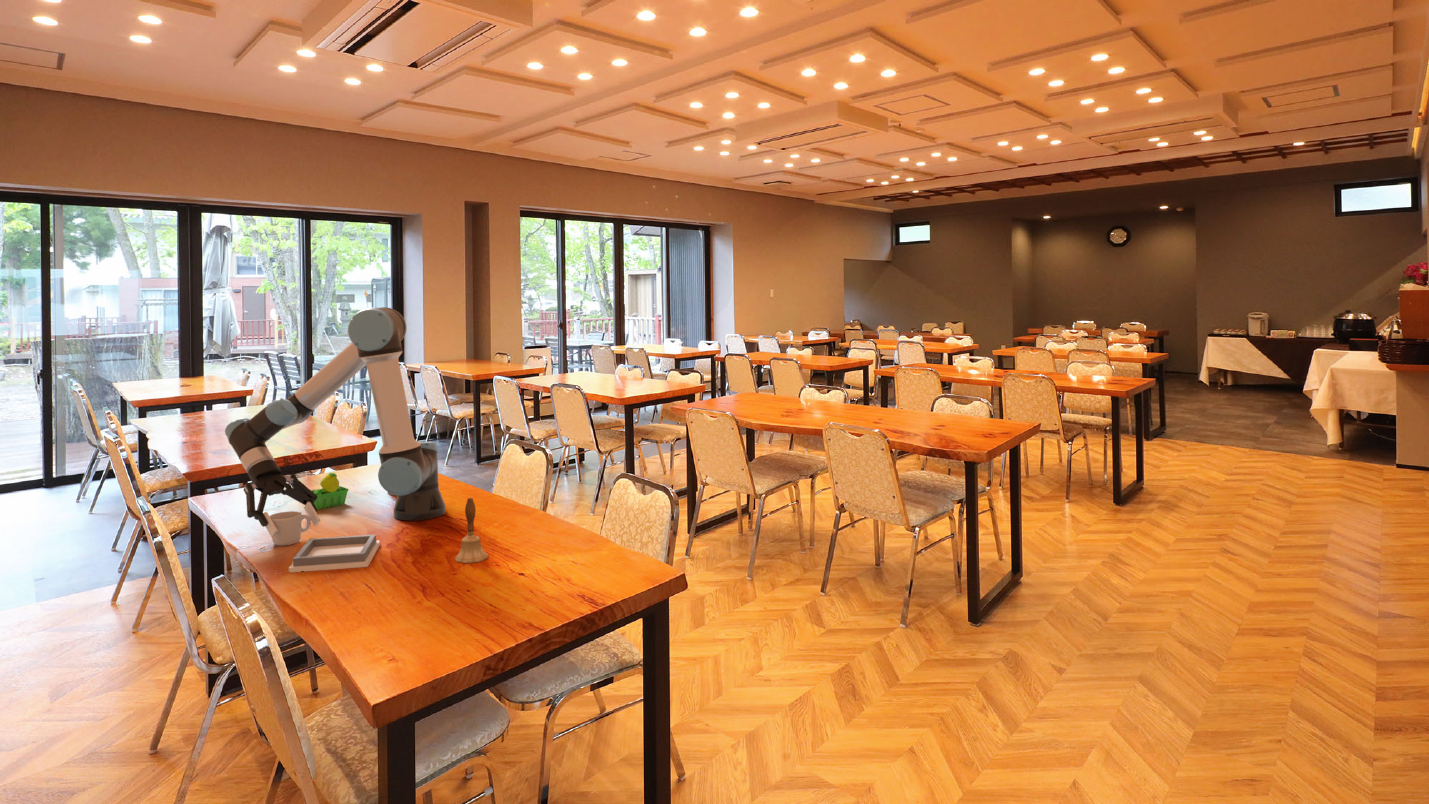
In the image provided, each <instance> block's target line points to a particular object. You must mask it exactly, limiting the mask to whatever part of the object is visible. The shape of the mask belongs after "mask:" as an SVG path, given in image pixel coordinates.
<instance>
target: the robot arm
mask: <svg viewBox="0 0 1429 804" xmlns="http://www.w3.org/2000/svg"><path fill="white" fill-rule="evenodd" d="M347 327H348V328H347V332H348V333H347V334H348V337H349V340H350V341H351V343H349V344H348V345H347V346H346V347H344V349H343V350H341V351H340V352H339V353H338V354H337V355H335V356H334V357H333V358H332V359H331V360H330V361H328V362H327V363H326V364H325V365H324V366H323V367H322V368H321V369H320V370H319V371H317V372H316V373H315V374H314V375H313V376H312V377H310V379H308V380H307V381H305V383H304V384H302V385H301V386H299V388H298V389H297V390H296V391H295V392H294V393H292V394H291V395H290V396H289V397H287V399H285V398H283V397H277V398H276V399H275V400H274V399H273V401H271V402H269V403H268V404H266V406H265V407H264V408H262V409H261V410H260V411H259V412H257V413H256V414H255V415H254V416H253V417H252V418H247V417H241V418H237V419H236V420H234V421H231V422H229V423H228V424H227V425H226V427H225V429H224V433H225V436H226V437H227V441H228V444H229V445H230V446H231V447H232V450H233V451H234V452H235V454H236V455H237V457H238V459H239V462H240V463H241V465H242V466H243V469H244V470H245V471H246V473H247V476H248V477H249V480H250V481H251V483H250V482H247V483H246V484H245V486H244V487H243V492H244V493H245V496H246V500H245V501H246V514H247V515H246V516H247V518H249V519H251V518H253V519H254V520H255V521H257V520H258V522H259V524H260V525H261V527H263V528H264V527H265V528H266V530H267V532H268V534H269V535H270V537H271V538H272V537H274V536H275V535H276V533H277V531H278V530H277V529H276V527H275V525H274V523H273V522H272V520H271V518H270V515H269V513H268V511H264V509H265V506H266V502H267V499H268V496H269V497H271V496H273V495H280V494H281V495H283V496H288V497H289V498H290V499H293V500H294V501H296V502H298V503H300V504H302V505H304V507H303V509H304V511H305V512H306V515H307V516H309V517H310V519H311V524H313V526H314V527H316V526H318V525H319V523H320V522H321V518H320V516H319V515H318V513H317V512H318V509H317V508H316V506H315V505H314V502H315V501H316V499H317V497H318V496H317V495H316V494H315V493H313V492H312V490H311V489H310V488H309V487H308V486H307V485H305V484H304V483H303V482H301V480H299V479H298V477H297V475H296V474H294V473H292V474H291V475H290V476H284V475H283V474H282V471H281V469H280V466H279V465H278V464H277V462H276V461H275V457H273V455H272V453H271V451H270V450H269V448H268V446H267V444H266V443H267V441H269V440H271V438H273V437H275V435H276V434H278V433H280V432H281V431H282V430H285V429H287V428H290V427H292V426H295V425H297V424H301V423H304V422H305V421H307V420H308V419H309V418H310V417H311V415H312V413H313V412H314V411H315V410H316V409H317V408H319V406H321V405H322V404H323V403H324V402H325V401H326V400H328V399H329V398H330V397H331V396H332V395H333V394H335V393H336V392H337V391H338V390H339V389H340V388H341V387H342V386H343V385H345V384H346V383H347V382H348V381H349V380H351V379H352V378H353V377H355V375H356V374H358V373H359V372H360V371H361V370H362V369H363V368H364V367H366V368H367V369H366V370H367V373H368V378H369V379H368V380H369V385H370V389H371V394H372V397H373V402H374V403H373V405H374V407H375V408H374V409H375V414H376V416H377V417H376V418H377V422H378V427H379V433H380V437H381V442H382V446H381V447H380V448H379V450H378V455H379V461H380V467H379V469H378V472H377V477H378V482H379V484H380V486H381V488H382V489H383V490H385V491H386V492H387V493H388V492H389V493H391V494H394V495H393V496H397V497H396V501H395V504H394V507H393V517H394V519H396V520H400V521H401V520H402V521H424V520H431V519H435V518H438V517H441V516H443V515H444V514H445V513H446V512H447V511H446V504H445V501H444V499H443V496H442V493H441V491H440V487H439V461H438V447H437V443H436V442H434V441H420V440H419V441H418V440H416V439H415V437H414V432H413V431H414V430H413V427H412V426H413V425H412V422H411V417H410V412H409V411H410V410H409V407H408V400H407V396H406V391H405V387H404V386H405V385H404V382H403V377H402V375H403V374H402V371H401V367H400V361H399V358H400V356H401V355H402V354H403V347H402V340H403V339H404V338H405V336H406V334H407V333H406V332H407V323H406V320H405V318H404V316H403V315H402V314H401V313H400V312H399V311H397V310H395V309H393V308H391V307H384V306H383V307H368V308H364V309H362V310H360V311H358V312H356V313H354V315H353V316H352V317H351V319H350V320H349V323H348V326H347ZM255 490H256V491H258V492H260V496H259V501H258V503H257V504H258V505H257V508H256V502H255Z"/></svg>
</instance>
